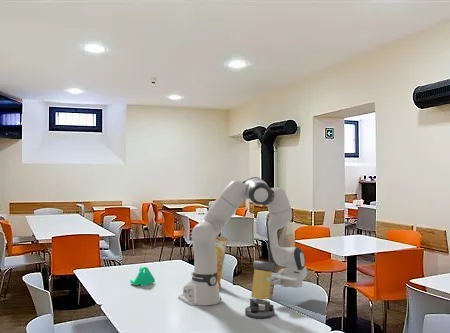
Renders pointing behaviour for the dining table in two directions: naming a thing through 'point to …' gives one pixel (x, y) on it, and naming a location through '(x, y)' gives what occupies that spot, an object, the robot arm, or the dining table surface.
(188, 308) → the dining table surface
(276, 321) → the dining table surface
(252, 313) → the grey round mount base
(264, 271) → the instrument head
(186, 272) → the dining table surface
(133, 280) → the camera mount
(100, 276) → the dining table surface
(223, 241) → the pancake mix bag
